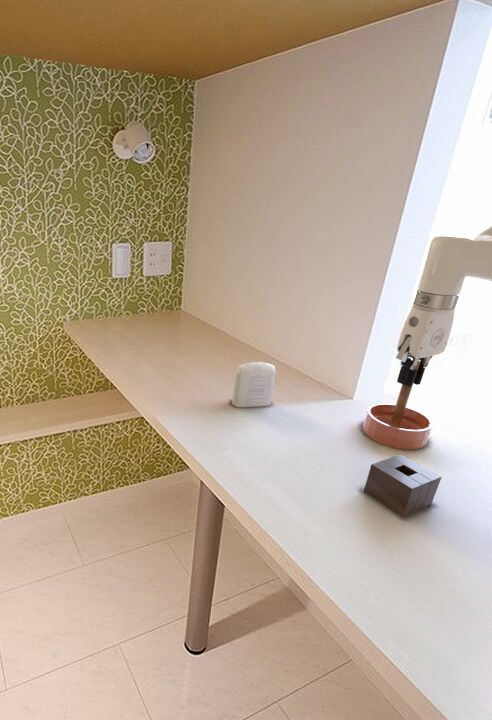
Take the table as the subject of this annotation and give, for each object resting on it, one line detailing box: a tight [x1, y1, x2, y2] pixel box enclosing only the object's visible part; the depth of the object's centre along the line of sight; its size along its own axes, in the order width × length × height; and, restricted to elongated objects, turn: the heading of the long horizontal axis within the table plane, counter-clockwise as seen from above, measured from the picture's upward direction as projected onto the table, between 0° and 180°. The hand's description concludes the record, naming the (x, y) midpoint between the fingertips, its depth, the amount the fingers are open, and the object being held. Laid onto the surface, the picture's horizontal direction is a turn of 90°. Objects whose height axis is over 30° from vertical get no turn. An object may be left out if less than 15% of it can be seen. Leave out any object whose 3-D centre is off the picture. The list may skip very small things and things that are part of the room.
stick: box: [389, 357, 421, 427], centre depth 97 cm, size 2×2×16 cm
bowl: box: [362, 403, 434, 450], centre depth 101 cm, size 13×13×6 cm
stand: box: [363, 453, 442, 518], centre depth 79 cm, size 8×8×7 cm
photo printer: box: [231, 361, 276, 408], centre depth 113 cm, size 10×4×12 cm, turn 98°
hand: (408, 382), depth 96 cm, fingers closed on stick, 2 cm apart
